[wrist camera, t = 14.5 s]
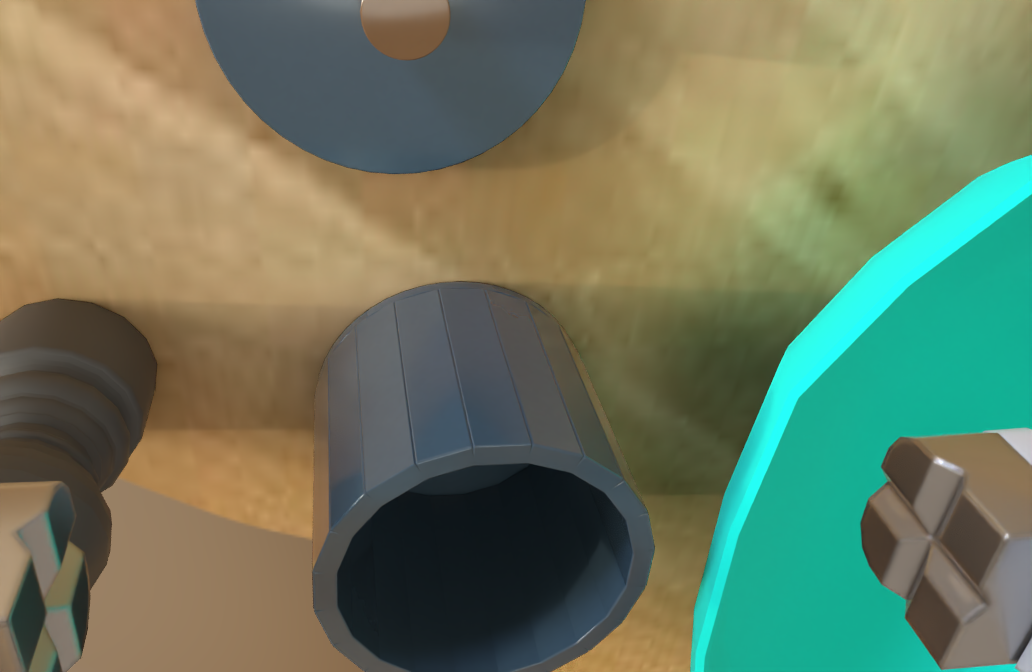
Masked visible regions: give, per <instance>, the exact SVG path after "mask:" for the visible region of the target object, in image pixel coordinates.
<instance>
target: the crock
mask: <svg viewBox="0 0 1032 672" xmlns="http://www.w3.org/2000/svg"><path fill="white" fill-rule="evenodd" d="M654 551H655V545H654V540H653V535H652V530H651V524H650V519H649V514H648V511H647V509H646V506H645V504H644V502H643V500H642V497H641V495H640V493H639V490H638V488H637V486H636V484H635V481H634V479H633V477H632V474H631V472H630V470H629V468H628V465H627V463H626V461H625V458H624V456H623V454H622V451H621V449H620V447H619V445H618V442H617V440H616V438H615V435H614V433H613V431H612V429H611V426H610V424H609V422H608V419H607V417H606V415H605V413H604V410H603V408H602V406H601V403H600V401H599V399H598V397H597V394H596V392H595V390H594V387H593V385H592V383H591V380H590V378H589V376H588V374H587V371H586V369H585V367H584V364H583V362H582V360H581V358H580V355H579V353H578V351H577V350H576V348H575V347H574V345H573V343H572V341H571V339H570V338H569V336H568V335H567V333H566V331H565V330H564V328H563V327H562V326H561V325H560V324H559V322H558V321H557V320H556V319H555V318H554V317H553V316H552V315H551V314H550V313H549V312H547V311H546V310H545V309H544V308H543V307H541V306H540V305H538V304H537V303H535V302H534V301H532V300H530V299H529V298H527V297H525V296H523V295H520V294H518V293H516V292H514V291H511V290H508V289H505V288H502V287H498V286H495V285H489V284H483V283H478V282H460V281H459V282H443V283H436V284H430V285H425V286H420V287H417V288H413V289H410V290H407V291H404V292H401V293H399V294H397V295H394V296H392V297H390V298H387V299H385V300H384V301H382V302H380V303H379V304H377V305H375V306H373V307H372V308H370V309H369V310H367V311H366V312H365V313H363V314H362V315H361V316H360V317H358V318H357V319H356V320H355V321H354V322H353V323H352V324H351V325H350V326H349V327H348V328H347V329H346V330H344V332H343V333H342V334H341V335H340V337H339V338H338V339H337V340H336V342H335V343H334V344H333V346H332V348H331V349H330V351H329V353H328V355H327V356H326V358H325V360H324V363H323V365H322V368H321V371H320V373H319V377H318V382H317V387H316V391H315V412H314V483H313V553H312V580H313V608H314V612H315V614H316V616H317V618H318V620H319V622H320V624H321V625H322V627H323V629H324V631H325V633H326V635H327V637H328V638H329V640H330V642H331V644H332V645H333V647H335V648H336V649H337V650H338V651H339V652H341V653H342V654H343V655H344V656H346V657H347V658H348V659H350V661H352V662H353V663H354V664H356V665H357V666H358V667H359V668H360V669H362V670H363V671H365V672H552V671H554V670H556V669H557V668H559V667H561V666H563V665H565V664H567V663H568V662H570V661H572V660H574V659H576V658H578V657H580V656H581V655H583V654H585V653H587V652H588V651H589V650H592V649H593V648H594V647H595V646H596V645H597V644H598V643H600V642H601V641H602V640H603V639H604V638H605V637H606V636H608V635H609V634H610V633H611V632H612V631H613V630H614V629H616V628H617V627H618V626H619V625H620V624H621V623H622V622H623V620H625V618H626V617H627V615H628V613H629V612H630V610H631V609H632V607H633V606H634V604H635V603H636V601H637V600H638V598H639V597H640V595H641V593H642V592H643V590H644V589H645V586H646V585H647V581H648V576H649V572H650V568H651V564H652V559H653V555H654Z"/></svg>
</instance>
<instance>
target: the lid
mask: <svg viewBox="0 0 1032 672" xmlns="http://www.w3.org/2000/svg"><path fill="white" fill-rule="evenodd" d="M195 2H196V7H197V10H198V14H199V17H200V21H201V24H202V28H203V31H204V34H205V36H206V38H207V41H208V43H209V45H210V48H211V50H212V52H213V55H214V57H215V59H216V61H217V62H218V64H219V66H220V68H221V69H222V71H223V73H224V74H225V76H226V78H227V80H228V81H229V82H230V84H231V85H232V86H233V88H234V89H235V90H236V92H237V93H238V94H239V96H240V97H241V98H242V100H243V101H244V102H245V103H246V104H247V105H248V106H249V107H250V108H251V109H252V110H253V111H254V113H255V114H256V115H257V116H258V117H259V118H260V119H261V120H262V121H264V122H265V123H266V124H267V125H268V126H270V127H271V128H272V129H273V130H275V131H276V132H277V133H278V134H279V135H281V136H282V137H284V138H285V139H287V140H288V141H290V142H291V143H293V144H295V145H296V146H298V147H299V148H301V149H303V150H305V151H307V152H309V153H311V154H313V155H315V156H317V157H319V158H321V159H324V160H326V161H329V162H332V163H335V164H338V165H341V166H344V167H347V168H352V169H357V170H362V171H367V172H373V173H386V174H408V173H420V172H426V171H432V170H438V169H442V168H445V167H449V166H452V165H455V164H459V163H462V162H464V161H466V160H469V159H471V158H473V157H475V156H478V155H480V154H482V153H484V152H486V151H487V150H489V149H491V148H492V147H494V146H496V145H497V144H499V143H501V142H502V141H504V140H505V139H506V138H507V137H509V136H510V135H511V134H513V133H514V132H515V131H516V130H518V129H519V128H520V127H521V126H522V125H523V124H524V123H525V122H526V121H527V120H528V119H529V118H530V117H531V116H532V115H533V114H534V113H535V112H536V111H537V110H538V109H539V108H540V106H541V105H542V104H543V102H544V101H545V100H546V99H547V97H548V96H549V95H550V94H551V92H552V91H553V89H554V87H555V86H556V84H557V82H558V81H559V79H560V77H561V76H562V74H563V72H564V70H565V68H566V66H567V64H568V61H569V59H570V57H571V55H572V53H573V50H574V47H575V44H576V41H577V38H578V35H579V31H580V28H581V25H582V19H583V14H584V9H585V3H586V0H195Z"/></svg>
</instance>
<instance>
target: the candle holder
mask: <svg viewBox="0 0 1032 672" xmlns="http://www.w3.org/2000/svg"><path fill="white" fill-rule="evenodd" d="M156 371H157V363H156V360H155V358H154V356H153V353H152V351H151V349H150V346H149V344H148V342H147V339H146V338H145V337H144V336H143V335H142V334H141V333H140V332H139V331H137V330H136V329H135V328H134V327H133V326H132V325H131V324H130V323H129V322H128V321H127V320H126V319H125V318H124V317H122V316H120V315H117V314H115V313H113V312H111V311H109V310H107V309H104V308H102V307H100V306H98V305H96V304H93V303H88V302H80V301H72V300H64V299H53V300H48V301H43V302H38V303H33V304H28V305H24V306H23V307H21V308H20V309H18V310H17V311H15V312H13V313H12V314H10V315H9V316H7V317H6V318H4V319H3V320H1V321H0V483H15V482H46V481H62V482H63V483H65V484H66V485H67V486H69V488H70V492H71V496H72V500H73V504H74V507H75V511H76V519H75V522H74V526H73V529H72V532H71V536H70V539H69V541H70V542H72V543H73V544H74V545H76V546H77V547H78V548H80V549H81V550H82V551H84V552H85V557H86V562H87V567H88V572H89V585H90V590H91V588H92V586H93V585H94V583H95V582H96V580H97V579H98V577H99V575H100V574H101V573H102V571H103V569H104V568H105V566H106V565H107V561H108V557H109V554H110V546H111V527H112V521H111V513H110V509H109V507H108V506H107V503H106V502H105V500H104V498H103V496H102V494H101V492H102V491H104V490H106V489H107V488H109V487H111V486H112V485H113V484H114V482H115V481H116V479H117V478H118V476H119V475H120V473H121V472H122V470H123V469H124V467H125V466H126V464H127V463H128V459H129V457H130V455H131V454H132V452H133V451H134V449H135V448H136V446H137V445H138V443H139V442H140V440H141V439H142V436H143V432H144V428H145V424H146V421H147V417H148V413H149V410H150V406H151V402H152V398H153V395H154V391H155V384H156Z"/></svg>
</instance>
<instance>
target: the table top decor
mask: <svg viewBox="0 0 1032 672" xmlns="http://www.w3.org/2000/svg"><path fill="white" fill-rule="evenodd" d="M1014 428H1029V429H1032V155H1029V156H1026V157H1023V158H1021V159H1018V160H1015V161H1012V162H1009V163H1007V164H1004V165H1002V166H1000V167H998V168H996V169H994V170H992V171H990V172H988V173H985V174H983V175H981V176H979V177H977V178H976V179H975V180H973V181H972V182H971V183H969V184H968V185H967V186H965V187H964V188H963V189H962V190H960V191H959V192H958V193H956V194H955V195H954V196H952V197H951V198H950V199H948V200H947V201H946V202H944V203H943V204H942V205H940V206H939V207H938V208H936V209H935V210H934V211H932V212H931V213H930V214H928V215H927V216H926V217H924V218H923V219H922V220H920V221H919V222H918V223H916V224H915V225H914V226H912V227H911V228H910V229H909V230H907V231H906V232H905V233H903V234H902V235H901V236H899V237H898V238H897V239H895V240H894V241H893V242H891V243H890V244H889V245H887V246H886V247H885V248H883V249H882V250H881V251H879V252H878V253H877V254H875V255H874V256H873V257H872V258H871V259H870V260H869V261H868V262H867V263H866V264H865V265H864V266H863V267H862V268H861V269H860V270H859V271H858V272H857V273H856V275H855V276H854V277H853V278H852V279H851V280H850V281H849V282H848V283H847V284H846V285H845V286H844V287H843V288H842V289H841V291H840V292H839V293H838V294H837V295H836V296H835V297H834V298H833V299H832V300H831V301H830V302H829V303H828V304H827V305H826V306H825V308H824V309H823V310H822V311H821V312H820V313H819V314H818V315H817V316H816V317H815V318H814V319H813V320H812V321H811V322H810V323H809V325H808V326H807V327H806V328H805V329H804V330H803V331H802V332H801V333H800V334H799V335H798V336H797V337H796V338H795V339H794V341H793V342H792V343H791V344H790V345H789V346H788V348H787V350H786V352H785V354H784V356H783V358H782V360H781V362H780V364H779V366H778V369H777V371H776V373H775V376H774V378H773V380H772V383H771V385H770V387H769V390H768V392H767V395H766V397H765V399H764V402H763V404H762V406H761V409H760V411H759V413H758V416H757V418H756V420H755V423H754V425H753V428H752V430H751V432H750V435H749V437H748V439H747V442H746V444H745V446H744V449H743V451H742V454H741V456H740V458H739V461H738V463H737V465H736V468H735V470H734V472H733V475H732V477H731V480H730V482H729V484H728V487H727V489H726V491H725V494H724V497H723V501H722V505H721V509H720V512H719V516H718V520H717V524H716V528H715V531H714V535H713V539H712V543H711V547H710V550H709V554H708V558H707V562H706V566H705V569H704V573H703V577H702V581H701V585H700V588H699V592H698V596H697V600H696V603H695V607H694V619H693V635H692V651H691V667H690V672H1020V671H1018V670H1017V669H1015V666H1016V664H1005V665H993V666H982V667H970V668H958V669H946V670H941V669H940V667H939V666H938V665H937V663H936V662H935V660H934V659H933V657H932V656H931V655H930V653H929V652H928V650H927V649H926V647H925V646H924V645H923V643H922V642H921V640H920V639H919V638H918V636H917V635H916V633H915V632H914V630H913V629H912V628H911V626H910V625H909V623H908V622H907V621H906V619H905V606H906V600H905V599H904V598H902V597H901V596H899V595H897V594H896V593H894V592H893V591H891V590H889V589H888V588H886V587H885V586H883V585H881V583H880V582H879V580H878V579H877V577H876V576H875V574H874V573H873V571H872V570H871V568H870V567H869V565H868V562H867V559H866V557H865V554H864V551H863V549H862V540H861V526H860V522H861V519H862V516H863V513H864V510H865V507H866V504H867V501H868V498H869V497H870V496H872V495H873V494H874V493H875V492H876V491H877V490H878V489H879V488H881V487H882V486H883V485H884V484H885V483H886V482H887V480H886V477H885V475H884V473H883V470H882V468H881V465H882V462H883V460H884V458H885V455H886V453H887V450H888V448H889V447H890V446H891V445H892V444H893V443H894V442H895V441H896V440H897V439H898V438H899V437H906V436H922V435H939V434H955V433H972V432H984V431H988V430H1001V429H1014Z"/></svg>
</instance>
